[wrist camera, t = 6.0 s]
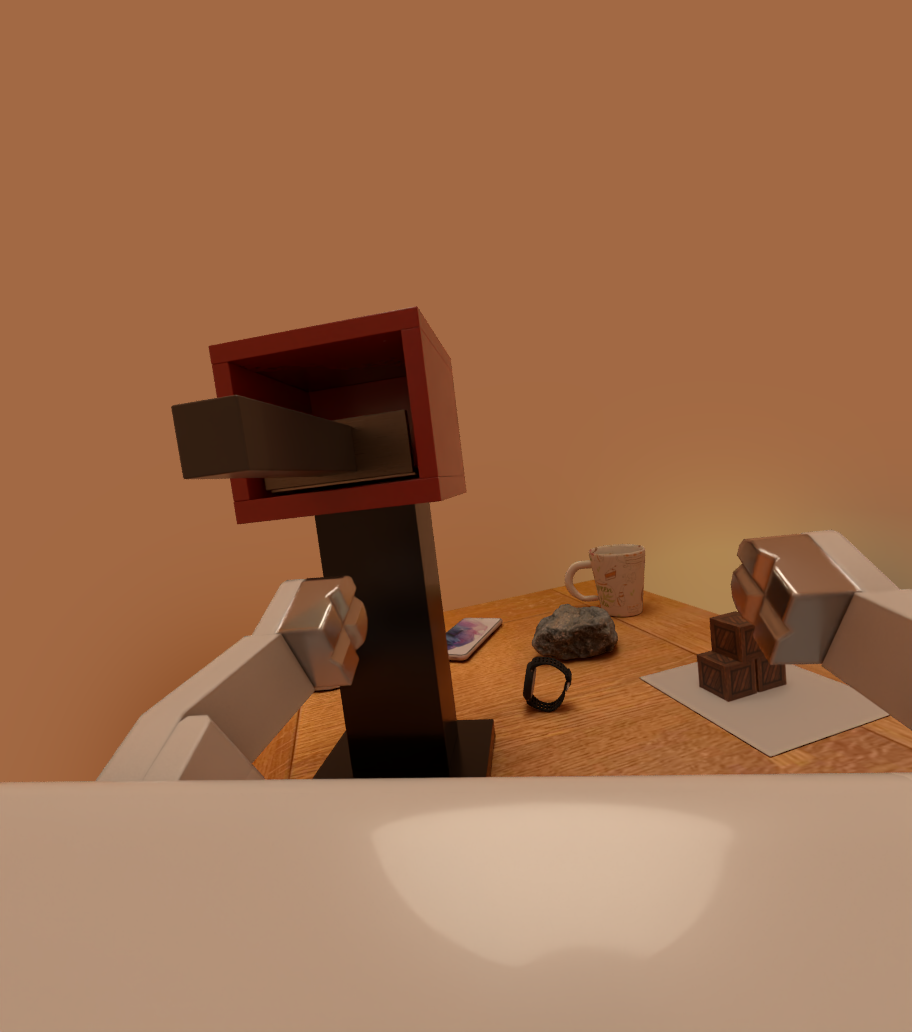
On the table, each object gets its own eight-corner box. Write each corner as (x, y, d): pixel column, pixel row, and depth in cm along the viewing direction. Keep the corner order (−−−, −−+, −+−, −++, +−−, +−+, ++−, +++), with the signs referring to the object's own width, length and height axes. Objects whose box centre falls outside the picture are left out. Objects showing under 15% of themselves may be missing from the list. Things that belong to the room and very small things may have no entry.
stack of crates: (770, 757, 33) (764, 670, 33) (639, 677, 48) (633, 616, 47) (908, 708, 37) (905, 630, 37) (748, 648, 52) (744, 591, 51)
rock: (579, 629, 64) (576, 595, 64) (638, 647, 56) (634, 608, 55) (511, 654, 58) (507, 617, 58) (565, 679, 49) (561, 636, 49)
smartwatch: (534, 694, 47) (529, 649, 47) (580, 705, 44) (575, 656, 43) (515, 713, 44) (509, 665, 43) (563, 726, 40) (557, 674, 40)
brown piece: (339, 476, 17) (323, 365, 17) (108, 506, 19) (89, 406, 18) (440, 474, 37) (434, 425, 37) (327, 488, 39) (320, 441, 39)
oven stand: (483, 841, 29) (417, 305, 26) (287, 838, 31) (208, 345, 28) (495, 734, 41) (450, 357, 38) (352, 737, 43) (300, 383, 40)
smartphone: (419, 653, 60) (463, 617, 73) (420, 659, 60) (464, 622, 73) (466, 656, 57) (503, 617, 70) (467, 662, 57) (504, 622, 70)
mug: (654, 619, 65) (648, 552, 64) (566, 621, 68) (559, 557, 68) (647, 602, 72) (641, 542, 72) (568, 604, 76) (563, 548, 75)
